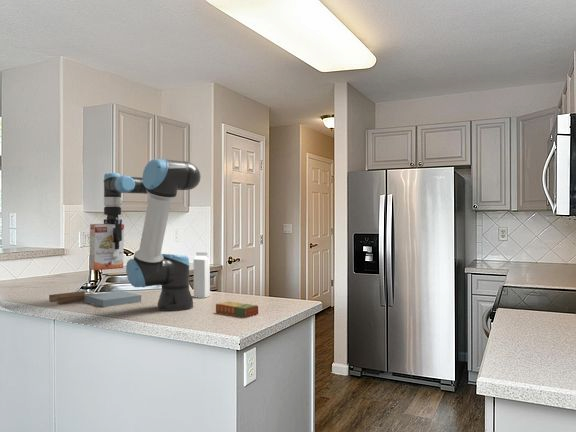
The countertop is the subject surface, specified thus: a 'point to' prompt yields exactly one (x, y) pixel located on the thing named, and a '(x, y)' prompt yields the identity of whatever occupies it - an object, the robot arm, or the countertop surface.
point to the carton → (237, 309)
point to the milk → (201, 275)
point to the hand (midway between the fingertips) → (112, 255)
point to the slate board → (112, 298)
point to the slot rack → (68, 297)
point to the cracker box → (104, 247)
